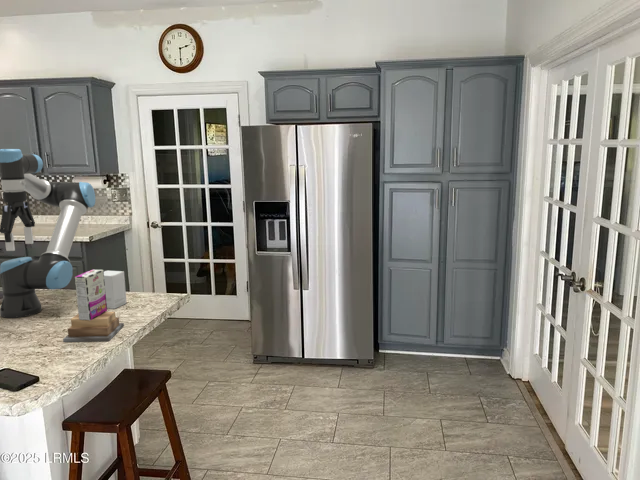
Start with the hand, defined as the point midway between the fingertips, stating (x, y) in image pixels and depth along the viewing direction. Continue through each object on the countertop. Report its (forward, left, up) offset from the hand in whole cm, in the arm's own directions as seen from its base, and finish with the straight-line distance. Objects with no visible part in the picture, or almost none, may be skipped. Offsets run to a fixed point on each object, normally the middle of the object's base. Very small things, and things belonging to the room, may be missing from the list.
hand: (20, 247), depth 188 cm
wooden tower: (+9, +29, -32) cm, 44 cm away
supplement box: (-26, +23, -32) cm, 47 cm away
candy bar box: (+9, +29, -25) cm, 39 cm away
